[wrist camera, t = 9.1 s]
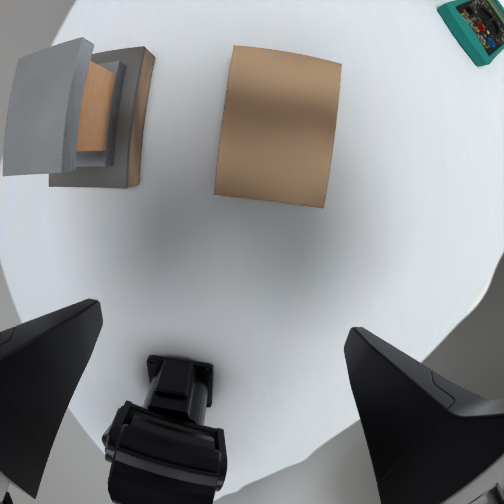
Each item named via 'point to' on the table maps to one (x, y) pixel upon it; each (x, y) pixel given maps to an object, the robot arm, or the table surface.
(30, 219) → the table surface
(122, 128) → the stand
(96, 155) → the block
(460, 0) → the digital multimeter
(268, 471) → the table surface
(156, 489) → the robot arm
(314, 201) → the stand
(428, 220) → the table surface
